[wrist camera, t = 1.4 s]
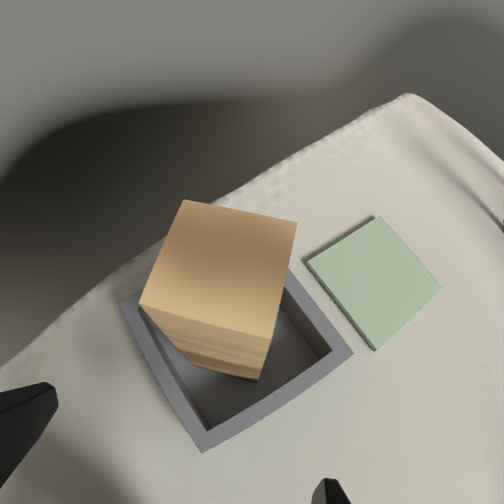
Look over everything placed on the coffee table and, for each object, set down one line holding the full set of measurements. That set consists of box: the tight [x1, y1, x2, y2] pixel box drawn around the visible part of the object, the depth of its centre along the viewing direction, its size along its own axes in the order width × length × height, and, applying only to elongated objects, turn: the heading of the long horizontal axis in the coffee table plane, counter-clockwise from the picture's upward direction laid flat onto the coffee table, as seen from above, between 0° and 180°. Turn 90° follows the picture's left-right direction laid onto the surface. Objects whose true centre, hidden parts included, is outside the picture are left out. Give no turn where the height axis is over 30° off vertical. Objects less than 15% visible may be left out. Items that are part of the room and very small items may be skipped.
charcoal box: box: [119, 268, 354, 453], centre depth 20 cm, size 11×11×4 cm
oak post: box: [139, 200, 297, 383], centre depth 16 cm, size 5×5×12 cm
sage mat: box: [306, 216, 442, 351], centre depth 25 cm, size 9×9×1 cm
